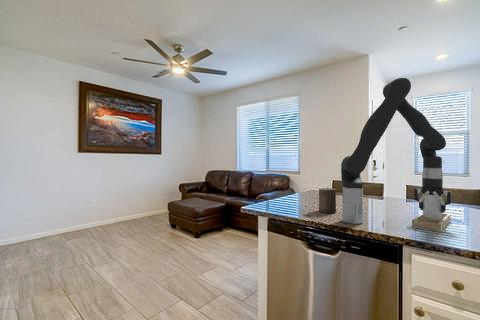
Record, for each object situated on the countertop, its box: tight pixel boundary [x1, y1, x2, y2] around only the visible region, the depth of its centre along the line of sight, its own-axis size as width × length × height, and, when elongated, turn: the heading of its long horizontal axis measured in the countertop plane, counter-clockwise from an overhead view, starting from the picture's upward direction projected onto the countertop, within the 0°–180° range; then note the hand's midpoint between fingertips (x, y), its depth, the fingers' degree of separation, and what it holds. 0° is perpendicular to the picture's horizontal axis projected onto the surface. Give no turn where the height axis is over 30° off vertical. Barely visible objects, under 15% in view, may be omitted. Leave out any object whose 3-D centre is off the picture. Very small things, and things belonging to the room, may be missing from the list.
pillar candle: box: [318, 186, 337, 214], centre depth 134 cm, size 10×10×15 cm
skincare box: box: [422, 193, 443, 220], centre depth 109 cm, size 6×4×12 cm
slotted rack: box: [411, 212, 451, 233], centre depth 109 cm, size 27×10×4 cm, turn 130°
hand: (431, 211), depth 109 cm, fingers closed on skincare box, 7 cm apart
